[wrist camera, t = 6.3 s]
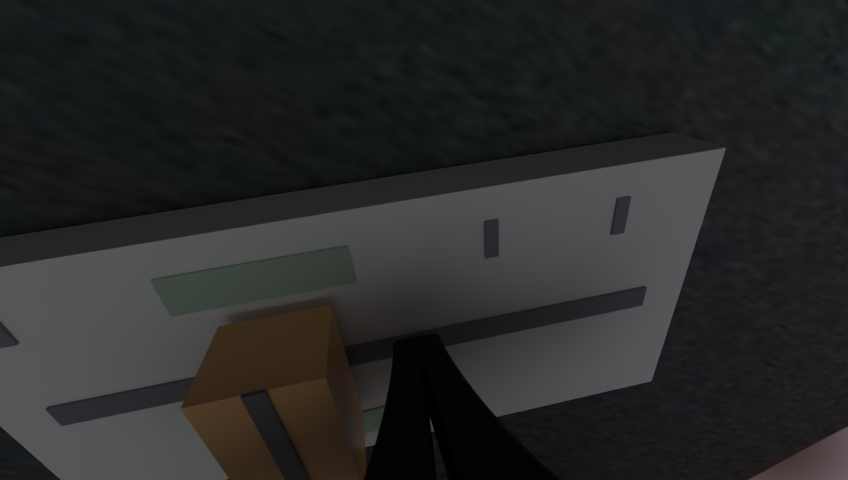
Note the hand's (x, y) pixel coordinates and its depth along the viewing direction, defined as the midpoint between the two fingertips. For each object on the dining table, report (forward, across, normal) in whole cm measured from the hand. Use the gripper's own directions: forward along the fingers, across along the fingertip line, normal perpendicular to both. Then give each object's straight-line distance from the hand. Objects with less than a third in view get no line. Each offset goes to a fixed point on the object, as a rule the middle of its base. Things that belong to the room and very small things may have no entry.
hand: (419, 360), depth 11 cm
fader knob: (0, +4, 0) cm, 4 cm away
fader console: (+3, +1, 0) cm, 3 cm away
